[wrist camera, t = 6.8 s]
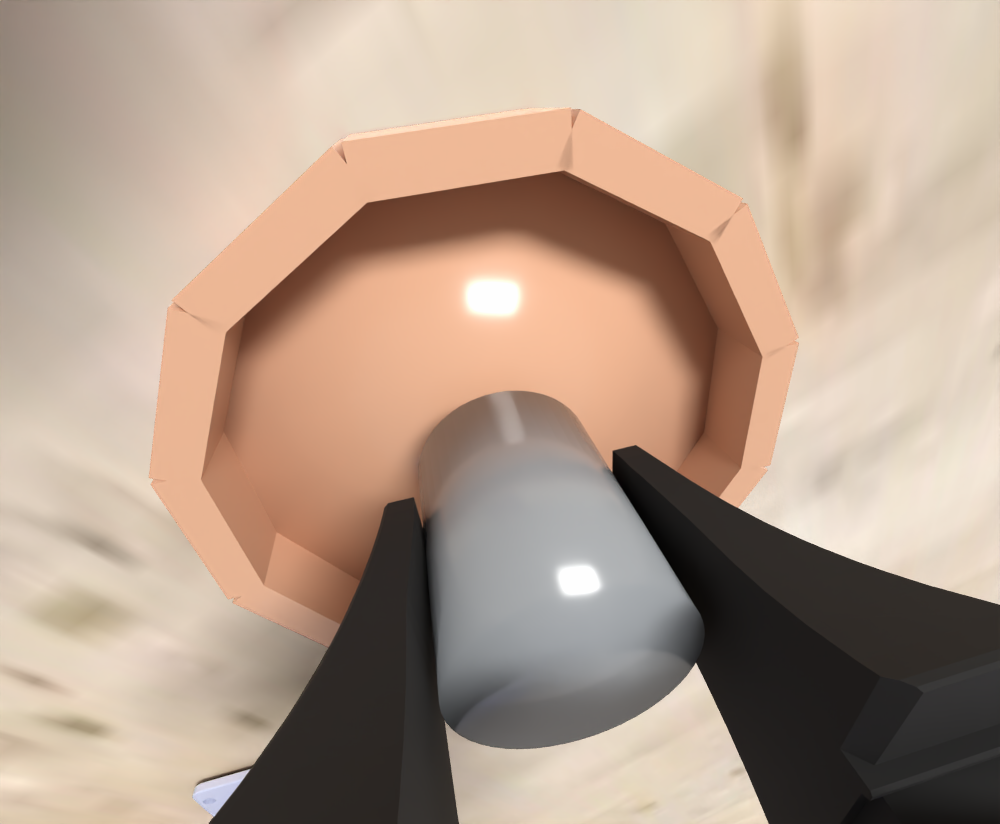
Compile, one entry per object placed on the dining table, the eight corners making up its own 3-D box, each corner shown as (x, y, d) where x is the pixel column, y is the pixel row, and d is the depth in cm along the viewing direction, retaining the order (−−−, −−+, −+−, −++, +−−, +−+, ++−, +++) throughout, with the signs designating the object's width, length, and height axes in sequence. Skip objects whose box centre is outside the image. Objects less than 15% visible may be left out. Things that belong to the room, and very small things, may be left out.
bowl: (696, 531, 21) (741, 589, 18) (312, 630, 19) (303, 710, 16) (762, 73, 12) (864, 64, 9) (60, 176, 10) (-43, 198, 8)
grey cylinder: (597, 500, 15) (704, 697, 10) (447, 548, 15) (480, 774, 10) (575, 366, 12) (705, 545, 7) (391, 424, 12) (397, 647, 7)
